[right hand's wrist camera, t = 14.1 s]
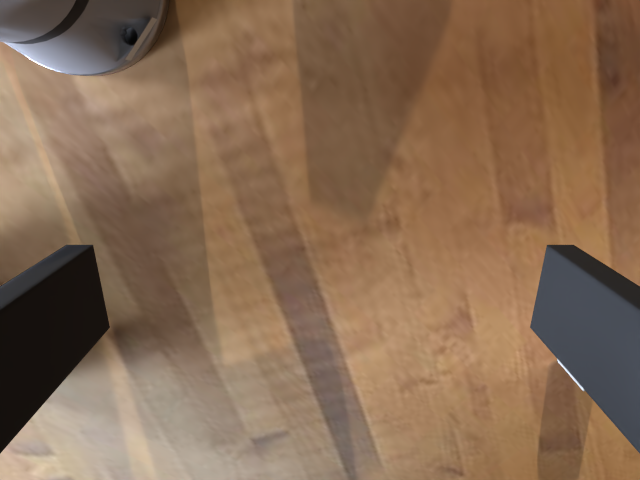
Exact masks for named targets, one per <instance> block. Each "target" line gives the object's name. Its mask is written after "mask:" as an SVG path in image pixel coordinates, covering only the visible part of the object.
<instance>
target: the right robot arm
mask: <svg viewBox="0 0 640 480" xmlns="http://www.w3.org/2000/svg"><path fill="white" fill-rule="evenodd" d="M168 7H169V0H0V42H4V43H6V44H7V45H9V46H10V47H12V48H14V49H15V50H17V51H19V52H20V53H22V54H23V55H25V56H26V57H28V58H29V59H31V60H33V61H34V62H36V63H38V64H40V65H42V66H44V67H46V68H49V69H52V70H54V71H57V72H61V73H65V74H72V75H85V76H101V75H108V74H113V73H116V72H119V71H122V70H124V69H126V68H128V67H130V66H132V65H133V64H135V63H136V62H138V61H139V60H140V59H141V58H142V57H144V56H145V55H146V54H147V53H148V51H149V50H150V49H151V48H152V46H153V45H154V44H155V42H156V41H157V39H158V37H159V35H160V33H161V31H162V28H163V26H164V23H165V20H166V17H167V12H168ZM109 328H110V326H109V321H108V316H107V311H106V306H105V301H104V297H103V292H102V287H101V282H100V277H99V272H98V267H97V262H96V258H95V253H94V248H93V245H66V246H64V247H62V248H61V249H59V250H58V251H56V252H54V253H53V254H51V255H50V256H48V257H46V258H45V259H43V260H42V261H40V262H39V263H37V264H35V265H34V266H32V267H31V268H29V269H27V270H26V271H24V272H23V273H21V274H19V275H18V276H16V277H15V278H13V279H12V280H10V281H8V282H7V283H5V284H4V285H2V286H0V453H1V452H2V451H3V450H4V449H5V447H6V446H7V445H8V444H9V443H10V442H11V440H12V439H13V438H14V437H15V436H16V435H17V434H18V432H19V431H20V430H21V429H22V428H23V427H24V426H25V424H26V423H27V422H28V421H29V420H30V419H31V417H32V416H33V415H34V414H35V413H36V412H37V411H38V409H39V408H40V407H41V406H42V405H43V404H44V402H45V401H46V400H47V399H48V398H49V397H50V396H51V394H52V393H53V392H54V391H55V390H56V389H57V388H58V386H59V385H60V384H61V383H62V382H63V381H64V379H65V378H66V377H67V376H68V375H69V374H70V373H71V371H72V370H73V369H74V368H75V367H76V366H77V365H78V363H79V362H80V361H81V360H82V359H83V358H84V356H85V355H86V354H87V353H88V352H89V351H90V350H91V348H92V347H93V346H94V345H95V344H96V343H97V341H98V340H99V339H100V338H101V337H102V336H103V335H104V333H105V332H106V331H107V330H108V329H109ZM530 328H531V329H532V330H533V331H534V332H535V333H536V335H537V336H538V337H539V338H540V339H541V340H542V341H543V343H544V344H545V345H546V346H547V347H548V348H549V350H550V351H551V352H552V353H553V354H554V355H555V356H556V358H557V359H558V360H559V361H560V362H561V363H562V365H563V366H564V367H565V368H566V369H567V370H568V371H569V373H570V374H571V375H572V376H573V377H574V378H575V379H576V381H577V382H578V383H579V384H580V385H581V386H582V388H583V389H584V390H585V391H586V392H587V393H588V394H589V396H590V397H591V398H592V399H593V400H594V401H595V402H596V404H597V405H598V406H599V407H600V408H601V409H602V411H603V412H604V413H605V414H606V415H607V416H608V417H609V419H610V420H611V421H612V422H613V423H614V424H615V426H616V427H617V428H618V429H619V430H620V431H621V432H622V434H623V435H624V436H625V437H626V438H627V439H628V440H629V442H630V443H631V444H632V445H633V446H634V447H635V449H636V450H637V451H638V452H639V453H640V286H638V285H636V284H635V283H633V282H632V281H630V280H628V279H627V278H625V277H624V276H622V275H621V274H619V273H617V272H616V271H614V270H613V269H611V268H609V267H608V266H606V265H605V264H603V263H601V262H600V261H598V260H597V259H595V258H594V257H592V256H590V255H589V254H587V253H586V252H584V251H582V250H581V249H579V248H578V247H576V246H574V245H547V248H546V253H545V258H544V262H543V267H542V272H541V277H540V282H539V287H538V292H537V297H536V301H535V306H534V311H533V316H532V321H531V326H530Z"/></svg>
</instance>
